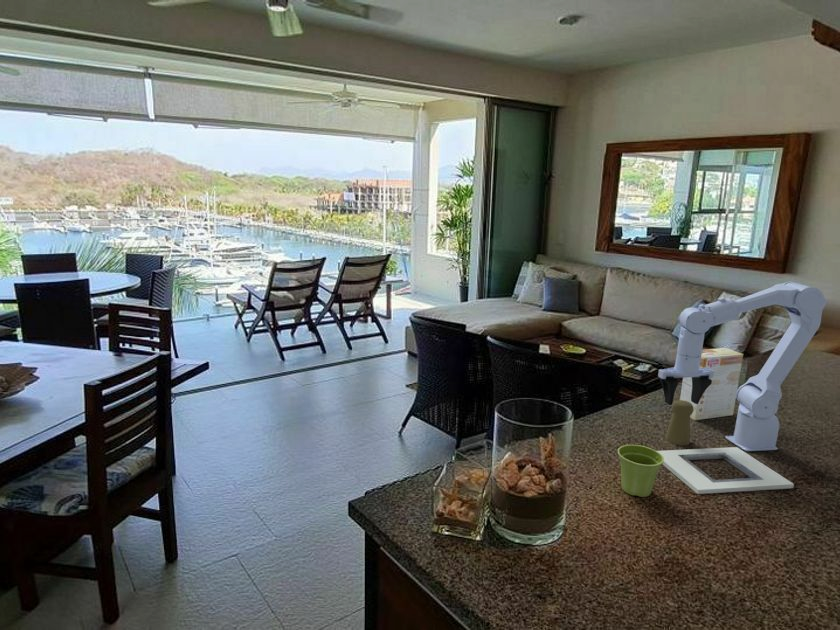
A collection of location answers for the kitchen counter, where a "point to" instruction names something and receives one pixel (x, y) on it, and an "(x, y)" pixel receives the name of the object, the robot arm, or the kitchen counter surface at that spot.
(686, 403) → the cork
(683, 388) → the coffeecake box
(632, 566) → the kitchen counter surface
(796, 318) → the robot arm
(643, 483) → the plant pot
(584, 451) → the kitchen counter surface
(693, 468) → the white picture frame
